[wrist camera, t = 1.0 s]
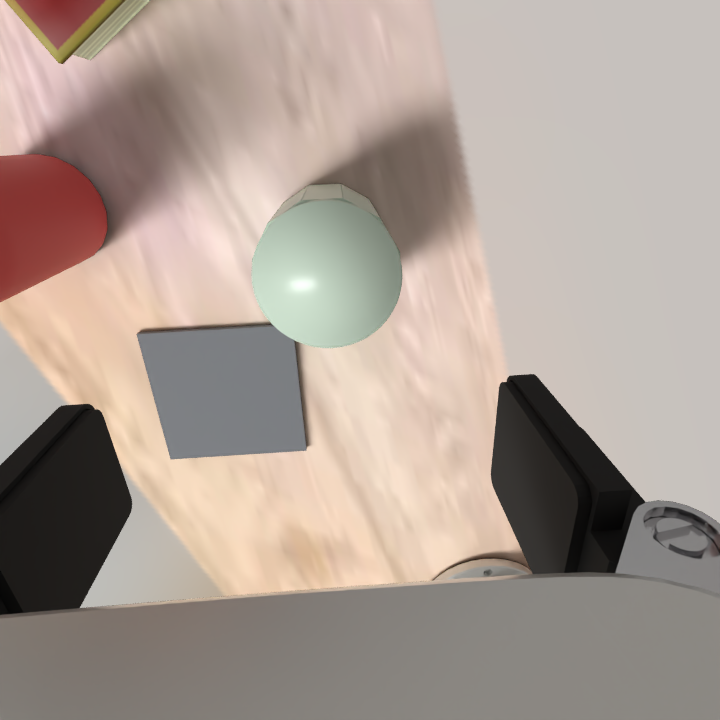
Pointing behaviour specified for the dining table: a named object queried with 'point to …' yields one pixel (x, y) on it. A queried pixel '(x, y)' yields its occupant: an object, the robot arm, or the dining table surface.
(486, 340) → the dining table surface
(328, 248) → the mint green domed cylinder
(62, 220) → the beer can
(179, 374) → the slate mat
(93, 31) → the hardcover book
